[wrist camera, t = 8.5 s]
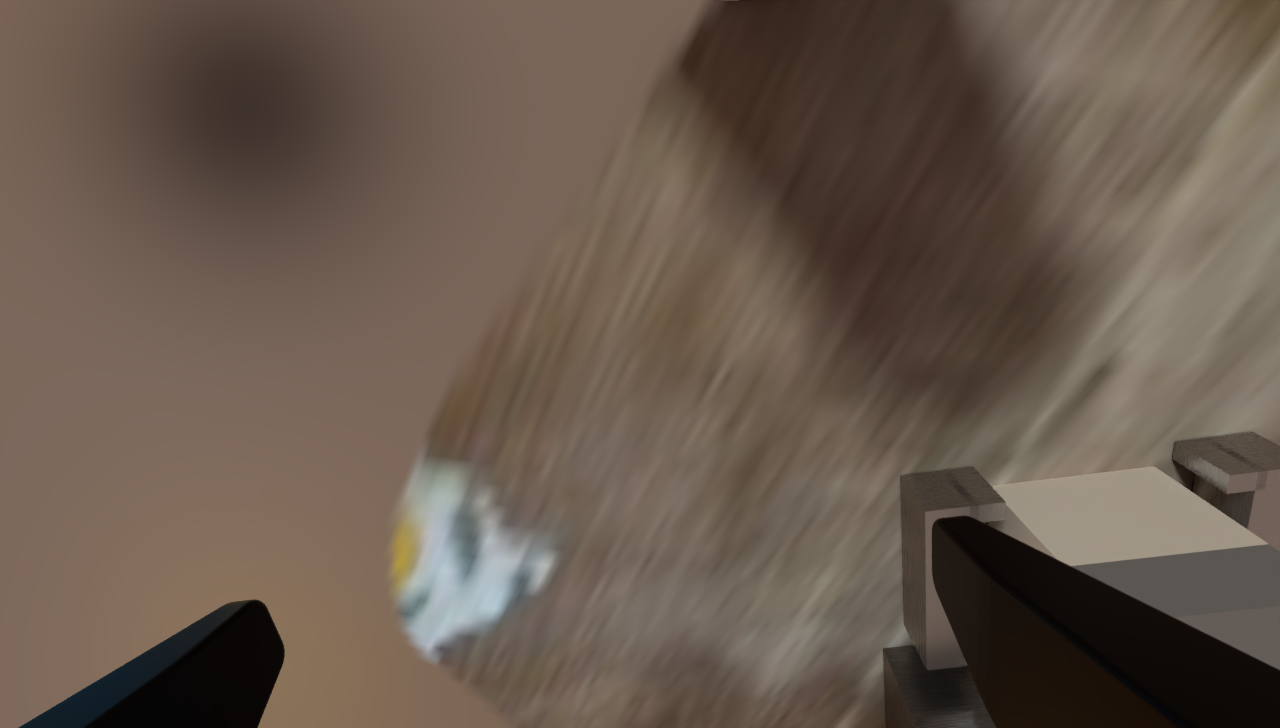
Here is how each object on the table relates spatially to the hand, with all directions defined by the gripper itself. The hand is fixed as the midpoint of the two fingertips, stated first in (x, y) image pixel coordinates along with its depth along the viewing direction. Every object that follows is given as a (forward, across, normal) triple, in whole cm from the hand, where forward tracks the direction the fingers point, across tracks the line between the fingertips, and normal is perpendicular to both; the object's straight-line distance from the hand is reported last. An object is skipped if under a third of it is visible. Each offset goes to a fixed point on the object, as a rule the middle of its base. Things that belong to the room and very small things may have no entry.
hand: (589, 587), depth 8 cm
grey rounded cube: (+11, -13, +9) cm, 20 cm away
